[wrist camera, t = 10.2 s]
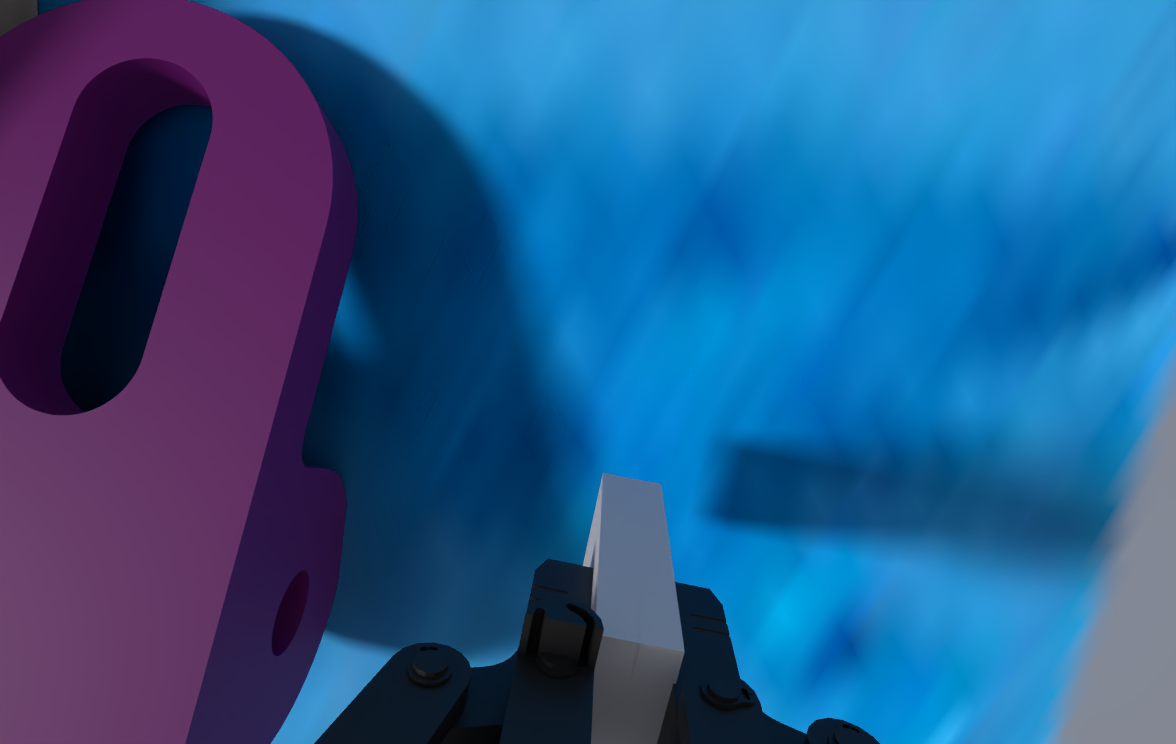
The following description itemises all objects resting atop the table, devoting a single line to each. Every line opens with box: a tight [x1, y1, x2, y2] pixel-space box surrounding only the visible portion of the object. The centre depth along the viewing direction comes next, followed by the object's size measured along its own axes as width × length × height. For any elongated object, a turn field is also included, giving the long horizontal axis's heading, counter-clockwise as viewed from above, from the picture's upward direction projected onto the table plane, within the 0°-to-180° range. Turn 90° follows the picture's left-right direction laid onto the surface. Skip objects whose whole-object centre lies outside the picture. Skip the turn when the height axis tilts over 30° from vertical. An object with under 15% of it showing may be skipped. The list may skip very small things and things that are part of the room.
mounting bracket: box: [0, 0, 358, 744], centre depth 20 cm, size 9×8×18 cm
